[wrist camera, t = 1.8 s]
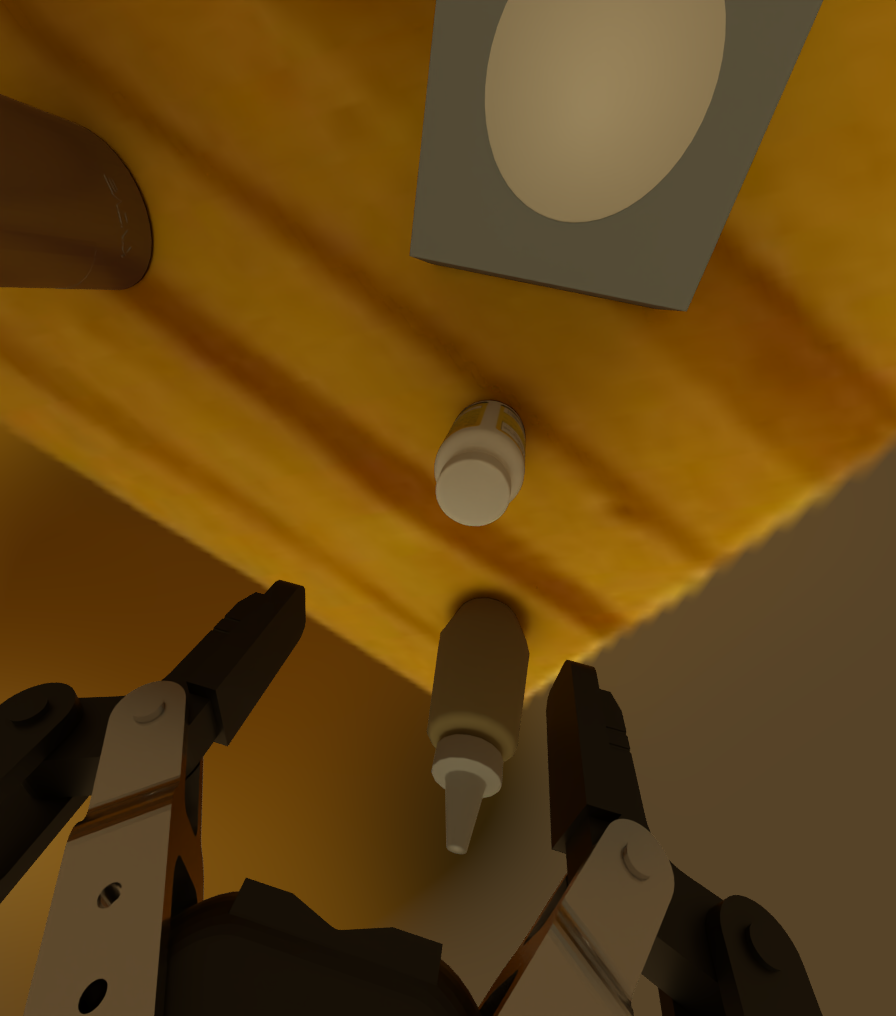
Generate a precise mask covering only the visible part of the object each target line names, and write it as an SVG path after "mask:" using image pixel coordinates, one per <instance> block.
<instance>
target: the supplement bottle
mask: <svg viewBox="0 0 896 1016" xmlns="http://www.w3.org/2000/svg"><path fill="white" fill-rule="evenodd" d="M434 471H435V479H436V482H437V484H436V497H437V501H438V503H439V505H440V507H441V509H442V510H443V511H444V513H445V514H446V515H447V516H449V517H450V518H451V519H453V520H454V521H456V522H458V523H461V524H464V525H468V526H482V525H486V524H489V523H492V522H494V521H495V520H497V519H498V518H499V517H500V516H501V515H502V514H503V513H504V512H505V510H506V509H507V507H508V504H509V503H510V502H511V501H512V500H513V499H514V498H515V496H516V495H517V494H518V492H519V490H520V488H521V486H522V483H523V479H524V473H525V430H524V426H523V423H522V421H521V419H520V417H519V416H518V415H517V413H516V412H515V411H514V410H513V409H512V408H510V407H509V406H507V405H505V404H503V403H501V402H497V401H491V400H487V401H480V402H476V403H474V404H471V405H470V406H468V407H467V408H465V409H464V410H463V411H462V412H461V413H460V414H459V416H458V417H457V419H456V420H455V422H454V424H453V426H452V428H451V429H450V431H449V433H448V435H447V436H446V438H445V440H444V442H443V443H442V445H441V447H440V449H439V451H438V453H437V456H436V460H435V468H434Z"/></svg>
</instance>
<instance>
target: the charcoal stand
mask: <svg viewBox="0 0 896 1016" xmlns="http://www.w3.org/2000/svg"><path fill="white" fill-rule="evenodd" d="M822 2H823V0H436V8H435V18H434V28H433V37H432V47H431V56H430V66H429V76H428V85H427V95H426V104H425V114H424V124H423V133H422V143H421V152H420V162H419V172H418V181H417V191H416V200H415V210H414V220H413V229H412V239H411V248H410V256H412V257H414V258H417V259H420V260H423V261H425V262H428V263H431V264H436V265H441V266H446V267H451V268H456V269H461V270H466V271H471V272H476V273H481V274H486V275H490V276H495V277H500V278H505V279H510V280H515V281H520V282H525V283H530V284H535V285H540V286H545V287H550V288H555V289H560V290H565V291H570V292H575V293H580V294H585V295H590V296H595V297H600V298H605V299H610V300H615V301H620V302H625V303H630V304H635V305H640V306H645V307H650V308H655V309H664V310H677V311H687V309H688V307H689V304H690V302H691V300H692V298H693V295H694V293H695V291H696V289H697V286H698V284H699V282H700V279H701V277H702V275H703V273H704V270H705V268H706V266H707V263H708V261H709V259H710V257H711V254H712V252H713V250H714V248H715V245H716V243H717V241H718V238H719V236H720V234H721V232H722V229H723V227H724V225H725V222H726V220H727V218H728V216H729V213H730V211H731V209H732V207H733V204H734V202H735V200H736V197H737V195H738V193H739V191H740V188H741V186H742V184H743V181H744V179H745V177H746V175H747V172H748V170H749V168H750V166H751V163H752V161H753V159H754V156H755V154H756V152H757V150H758V147H759V145H760V143H761V140H762V138H763V136H764V134H765V131H766V129H767V127H768V125H769V122H770V120H771V118H772V115H773V113H774V111H775V109H776V106H777V104H778V102H779V100H780V97H781V95H782V93H783V90H784V88H785V86H786V84H787V81H788V79H789V77H790V74H791V72H792V70H793V68H794V65H795V63H796V61H797V59H798V56H799V54H800V52H801V49H802V47H803V45H804V43H805V40H806V38H807V36H808V33H809V31H810V29H811V27H812V24H813V22H814V20H815V18H816V15H817V13H818V11H819V8H820V6H821V4H822Z"/></svg>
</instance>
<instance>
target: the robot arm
mask: <svg viewBox="0 0 896 1016" xmlns="http://www.w3.org/2000/svg"><path fill="white" fill-rule="evenodd" d="M151 244H152V240H151V230H150V223H149V219H148V215H147V211H146V207H145V205H144V202H143V200H142V197H141V195H140V192H139V190H138V187H137V186H136V184H135V182H134V180H133V178H132V177H131V175H130V173H129V171H128V170H127V168H126V167H125V166H124V164H123V163H122V161H121V160H120V159H119V157H118V156H117V155H116V153H115V152H114V151H113V150H112V149H111V148H110V147H109V146H108V145H107V144H106V143H105V142H104V141H103V140H102V139H100V138H99V137H98V136H96V135H95V134H94V133H92V132H91V131H89V130H88V129H86V128H84V127H82V126H80V125H78V124H75V123H73V122H71V121H68V120H66V119H63V118H60V117H58V116H55V115H53V114H50V113H48V112H45V111H42V110H40V109H37V108H35V107H32V106H29V105H27V104H24V103H22V102H19V101H17V100H14V99H11V98H9V97H7V96H4V95H2V94H0V287H18V288H56V289H99V290H120V289H125V288H128V287H131V286H133V285H134V284H136V283H137V282H138V281H139V280H140V279H141V278H142V276H143V275H144V273H145V271H146V270H147V267H148V264H149V260H150V257H151ZM305 622H306V615H305V588H304V587H303V586H301V585H297V584H293V583H290V582H286V581H282V580H278V581H276V582H275V583H274V584H273V585H272V586H271V587H270V588H269V590H268V591H267V592H266V593H265V594H261V593H257V592H255V593H254V594H252V595H250V596H248V597H247V598H245V599H243V600H241V601H240V602H238V603H237V604H236V605H235V606H234V607H233V608H232V609H231V610H230V611H229V612H228V613H227V614H226V615H225V618H224V619H222V620H221V621H220V622H219V623H218V624H217V625H216V626H215V627H214V629H213V630H211V631H210V632H209V633H208V634H207V635H206V636H205V637H204V638H203V640H202V641H200V642H199V644H198V645H197V646H196V647H195V648H194V649H193V650H192V651H191V652H190V653H189V654H188V655H187V656H186V657H185V658H184V659H183V660H182V661H181V662H180V663H179V664H178V665H177V666H176V668H175V669H174V670H173V671H172V672H171V673H170V674H169V675H167V676H166V677H165V678H164V679H163V680H162V681H157V682H152V683H149V684H146V685H143V686H141V687H139V688H137V689H135V690H133V691H132V692H130V693H129V694H127V695H126V696H116V697H92V698H78V697H77V695H76V693H75V691H74V690H73V688H72V687H70V686H69V685H67V684H63V683H46V684H41V685H38V686H34V687H31V688H29V689H26V690H24V691H22V692H20V693H18V694H16V695H14V696H12V697H11V698H9V699H7V700H6V701H5V702H3V703H2V704H1V705H0V903H1V902H2V901H3V900H4V898H5V897H6V896H7V895H8V894H9V892H10V891H11V890H12V889H13V888H14V886H15V885H16V884H17V883H18V881H19V880H20V879H21V878H22V877H23V875H24V874H25V873H26V872H27V871H28V869H29V868H30V867H31V866H32V865H33V863H34V862H35V861H36V860H37V858H38V857H39V856H40V855H41V854H42V852H43V851H44V850H45V849H46V848H47V846H48V845H49V844H50V843H51V841H52V840H53V839H54V838H55V837H56V835H57V834H58V833H59V832H60V831H61V829H62V828H63V827H64V826H65V824H66V823H67V822H68V821H69V820H70V818H71V817H72V816H73V815H74V813H75V812H76V811H77V810H78V809H79V807H80V806H81V805H82V804H83V803H84V801H85V800H86V799H87V798H88V796H89V795H92V797H91V801H90V805H89V809H88V812H87V815H86V817H85V818H84V820H83V821H80V822H78V823H77V824H76V825H75V826H74V827H73V829H72V831H71V833H70V835H69V838H68V841H67V844H66V847H65V851H64V855H63V859H62V863H61V867H60V871H59V875H58V879H57V883H56V887H55V891H54V895H53V899H52V903H51V907H50V911H49V915H48V919H47V923H46V927H45V931H44V935H43V939H42V943H41V947H40V951H39V955H38V959H37V963H36V967H35V971H34V975H33V979H32V983H31V987H30V991H29V995H28V999H27V1003H26V1007H25V1011H24V1015H23V1016H634V1015H633V1009H632V1007H631V1000H632V996H633V993H634V990H635V987H636V985H637V982H638V980H639V977H640V975H641V974H642V975H644V976H645V977H646V978H647V979H649V980H650V981H651V982H652V983H654V984H655V985H656V986H657V987H658V990H659V997H660V1003H661V1010H662V1016H822V1013H821V1011H820V1008H819V1006H818V1003H817V1000H816V997H815V995H814V992H813V989H812V986H811V984H810V981H809V978H808V976H807V973H806V971H805V968H804V965H803V963H802V961H801V958H800V956H799V953H798V951H797V950H796V948H795V946H794V944H793V942H792V941H791V939H790V938H789V936H788V935H787V933H786V932H785V930H784V929H783V928H782V926H781V925H780V924H779V923H778V922H777V920H776V919H775V918H774V917H773V916H772V915H771V914H770V913H769V912H768V911H767V910H765V909H764V908H763V907H762V906H761V905H759V904H758V903H756V902H755V901H753V900H751V899H749V898H747V897H744V896H740V895H733V896H729V897H728V898H727V899H724V900H722V899H721V898H719V897H718V896H716V895H715V894H713V893H712V892H710V891H709V890H707V889H706V888H705V887H703V886H702V885H700V884H699V883H697V882H696V881H694V880H693V879H691V878H690V877H688V876H687V875H686V874H684V873H683V872H682V871H680V870H679V869H678V868H676V866H674V865H673V864H672V863H671V862H670V860H669V859H668V857H667V855H666V853H665V851H664V849H663V848H662V846H661V845H660V843H659V842H658V841H657V839H656V838H655V837H654V836H653V835H652V834H651V832H650V830H649V827H648V825H647V821H646V818H645V813H644V809H643V804H642V800H641V795H640V791H639V786H638V782H637V777H636V773H635V769H634V764H633V760H632V755H631V753H630V746H629V742H628V737H627V736H626V728H625V724H624V720H623V715H622V711H621V710H620V708H619V706H618V704H617V703H616V701H615V699H614V698H613V696H612V694H611V692H608V691H605V690H601V689H599V685H598V679H597V674H596V670H595V668H594V667H592V666H588V665H585V664H581V663H577V662H574V661H570V660H566V661H565V663H564V664H563V666H562V668H561V670H560V672H559V674H558V676H557V678H556V680H555V682H554V684H553V686H552V688H551V690H550V693H549V696H548V700H547V708H546V717H547V745H548V769H549V794H550V818H551V819H550V820H551V844H552V850H555V851H559V852H562V853H565V854H566V859H567V873H566V874H565V875H564V877H563V878H562V880H561V882H560V883H559V885H558V887H557V888H556V890H555V891H554V893H553V894H552V896H551V897H550V899H549V901H548V902H547V904H546V905H545V907H544V908H543V910H542V912H541V913H540V915H539V916H538V918H537V920H536V921H535V923H534V924H533V926H532V927H531V929H530V931H529V932H528V934H527V936H526V937H525V938H524V940H523V942H522V943H521V945H520V946H519V948H518V949H517V951H516V952H515V953H514V955H513V956H512V957H511V959H510V960H509V961H508V963H507V964H506V966H505V967H504V968H503V970H502V971H501V973H500V974H499V976H498V977H497V979H496V980H495V982H494V983H493V985H492V986H491V988H490V990H489V991H488V993H487V994H486V996H485V997H484V999H483V1001H482V1002H481V1004H480V1005H479V1007H478V1006H477V1004H476V1003H475V1001H474V999H473V997H472V995H471V994H470V992H469V990H468V989H467V988H466V986H465V985H464V983H463V982H462V981H461V979H460V978H459V976H458V975H457V974H456V973H455V972H454V971H453V970H452V969H451V968H450V966H449V965H447V964H446V963H445V962H444V961H443V960H441V952H442V944H440V943H437V942H435V941H432V940H428V939H426V938H423V937H420V936H417V935H414V934H411V933H408V932H405V931H402V930H399V929H396V928H393V927H390V928H372V929H354V930H337V929H335V928H333V927H332V926H330V925H329V924H328V923H327V922H326V921H324V920H323V919H322V918H321V917H320V916H318V915H317V914H316V913H315V912H314V911H313V910H311V909H310V908H309V907H308V906H307V905H306V904H304V903H303V902H302V901H301V900H300V899H299V898H297V897H296V896H295V895H294V894H293V893H290V892H287V891H284V890H281V889H278V888H275V887H272V886H269V885H266V884H263V883H260V882H257V881H254V880H251V879H248V878H246V879H245V881H244V883H243V885H242V887H241V889H240V891H239V892H229V893H225V894H220V895H217V896H214V897H211V898H209V899H206V900H203V895H204V870H203V857H202V848H201V822H202V787H203V786H202V785H203V756H204V755H205V753H206V752H207V750H208V749H209V748H210V746H211V745H212V743H213V742H216V743H219V744H223V745H225V746H228V745H229V743H230V742H231V740H232V739H233V738H234V736H235V734H236V733H237V732H238V730H239V729H240V727H241V726H242V724H243V723H244V721H245V720H246V718H247V717H248V715H249V714H250V712H251V711H252V709H253V708H254V706H255V705H256V703H257V702H258V700H259V699H260V698H261V696H262V694H263V693H264V691H265V690H266V689H267V687H268V686H269V684H270V683H271V681H272V680H273V678H274V677H275V675H276V674H277V672H278V671H279V669H280V668H281V666H282V665H283V663H284V662H285V660H286V659H287V657H288V656H289V655H290V653H291V652H292V650H293V648H294V647H295V646H296V644H297V642H298V641H299V639H300V638H301V635H302V633H303V630H304V627H305Z"/></svg>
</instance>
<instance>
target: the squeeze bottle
mask: <svg viewBox="0 0 896 1016" xmlns="http://www.w3.org/2000/svg"><path fill="white" fill-rule="evenodd" d="M528 661H529V650H528V646H527V642H526V639H525V636H524V634H523V632H522V629H521V627H520V625H519V622H518V620H517V617H516V615H515V614H514V613H513V611H512V610H511V609H510V608H509V607H508V606H507V605H505V604H503V603H502V602H500V601H498V600H494V599H489V598H477V599H473V600H470V601H468V602H466V603H464V604H463V605H462V607H461V608H460V609H459V610H458V611H457V613H456V614H455V615H454V616H453V618H452V619H451V620H450V622H449V623H448V624H447V625H446V627H445V628H444V629H443V630H442V632H441V634H440V640H439V647H438V654H437V661H436V669H435V676H434V683H433V691H432V698H431V706H430V713H429V720H428V727H427V734H428V736H429V738H430V741H431V743H432V744H433V745H434V747H435V748H436V752H435V757H434V761H433V766H432V771H431V772H432V775H433V776H434V779H435V781H436V782H437V783H438V784H440V785H441V786H442V787H443V788H444V789H445V791H446V847H447V849H448V850H449V851H451V852H453V853H456V854H465V853H466V852H467V848H468V845H469V842H470V838H471V835H472V831H473V828H474V824H475V821H476V818H477V814H478V810H479V808H480V804H481V801H482V798H484V797H490V796H492V795H494V794H495V793H497V792H498V791H499V790H500V787H501V785H502V774H503V762H505V761H506V760H508V759H509V758H511V757H512V756H513V755H514V754H515V751H516V748H517V746H518V737H519V730H520V723H521V714H522V707H523V700H524V692H525V684H526V676H527V668H528Z"/></svg>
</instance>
